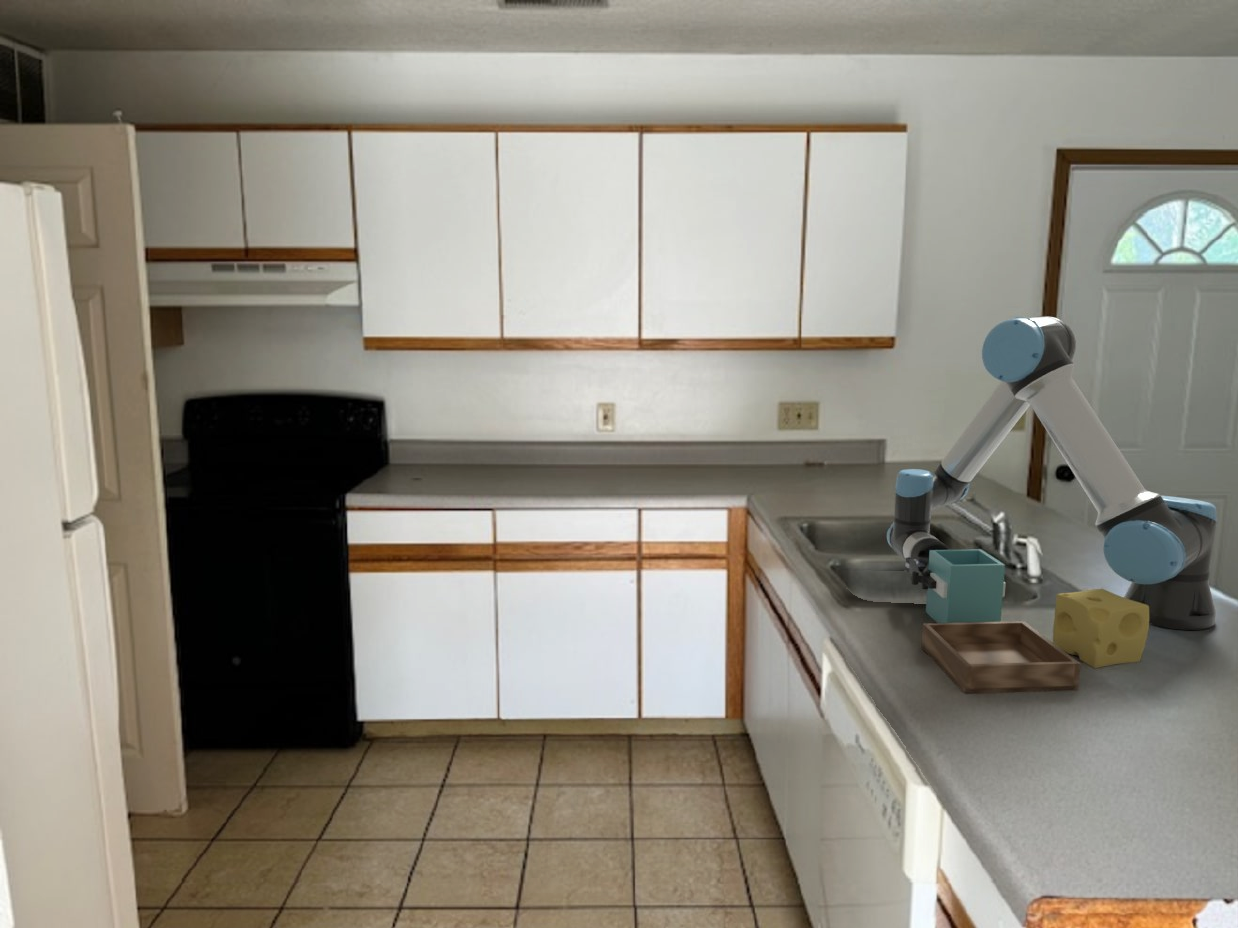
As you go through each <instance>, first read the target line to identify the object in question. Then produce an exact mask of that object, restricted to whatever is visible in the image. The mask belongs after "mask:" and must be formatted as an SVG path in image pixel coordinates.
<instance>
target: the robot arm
mask: <svg viewBox="0 0 1238 928" xmlns="http://www.w3.org/2000/svg"><path fill="white" fill-rule="evenodd" d="M1076 341H1077V340H1076V338H1075V334H1074V332H1073V330H1072V329H1071V327H1070V326H1069V325H1068V324H1067V323H1066V322H1065V321H1063V320H1061V319H1059V318H1057V317H1055V316H1054V317H1053V316H1049V315H1048V316H1047V315H1043V316H1041V315H1040V316H1033V317H1031V316H1030V317H1026V316H1017V317H1013V318H1010V319H1006V320H1003V321H1001V322H999V323H998V324H996V325H995V326H993V328H991V330H990V331H989V332H988V333H987V335H986V337H985V339H984V341H983V346H982V349H981V359H982V363H983V366H984V368H985V369H986V371H987V373H989V375H991V377H993V378H994V379H997V380H998V381H1000V382H999V383H998V385H997V386H996V387H995V388H994V390H993V391H992V393H991V394H990V396H988V398H987V400H986V401H985V402H984V403H983V405H982V406H981V408H979V411H977V413H976V414H975V416H974V417H973V418H972V419H971V421H970V422H969V424H968V425H967V426H966V428H965V429H964V430H963V432H962V433H961V435H960V436H959V437H958V438H957V440H956V441H955V442H954V444H953V445H952V446H951V448H950V449H949V451H948V452H947V453H946V455H945V456H944V457H943V458H942V460H941V461H940V463H939V464H938V465H937V466H936V468H935V469H934V471H933V472H931V471H929V470H925V469H917V468H909V469H908V468H907V469H906V468H905V469H902V470H899V472H898V473H897V475H896V483H895V486H894V512H893V513H894V515H893V517H894V518H893V523H892V524H890V526H889V528H888V530H887V532H886V540H887V543H888V545H889V546H890V547H891V549H892V550H893V551H894V553H896V555H898V556H899V557H901V558H903V559H905V568H904V569H905V570H904V571H906V572H907V573H908V575H909V578H910V583H911V585H913V586H917V585H919V583H920V584H921V590H927V589H928V587H929V588H930V589H933V590H934V591H935V592H936V593H938V594H939V595H940V596H941V597H942V598H947V592H948V584H947V583H946V582H945V581H944V580H942V579H941V578H940V577H939V576H937V575H936V574H935V573H931V571H930V570H929V569H928V568H929V552H930V550H951V549H950V548H949V547H948V546H947V545H946V544H945V543H943V542H942V541H940V540H939V539H938V538H936V537H935V536H934V535H932V534H931V533H930V531H931V529H930V528H931V527H930V526H931V519H932V518H931V517H932V510H934V509H939V508H940V507H943V506H948V505H953V504H956V503H958V502H959V501H961V500H962V499H964V498H965V497H966V496H967V495H968V492H969V489H970V483H971V482H972V480H973V479H974V478H975V476H976V475H977V474H978V473H979V471H980V470H981V469H982V467H983V466H984V465H985V464H986V462H987V461H988V460H989V459H990V457H991V456H992V455H993V453H994V452H995V451H996V450H997V448H998V447H999V445H1000V444H1001V443H1002V442H1003V441H1004V440H1005V438H1006V437H1007V436H1008V435H1009V433H1010V431H1011V430H1012V429H1013V428H1014V427H1015V425H1016V424H1017V423H1018V421H1019V420H1020V419H1021V418H1022V416H1023V415H1024V414H1025V412H1026V411H1027V410H1028V408H1029V407H1031V408H1032V410H1033V411H1034V413H1035V415H1036V417H1037V418H1038V419H1039V421H1040V422H1041V425H1042V427H1044V429H1045V430H1046V432H1047V434H1048V436H1049V437H1050V439H1051V440H1052V441H1053V443H1054V444H1055V445H1054V446H1056V448H1057V449H1058V452H1060V454H1061V456H1062V458H1063V459H1064V461H1065V462H1066V464H1067V465H1068V467H1069V468H1070V470H1071V472H1072V474H1073V475H1074V477H1075V478H1076V480H1077V481H1078V483H1079V484H1080V486H1081V487H1082V489H1083V491H1084V493H1085V494H1086V496H1087V498H1089V501H1090V502H1091V503H1092V505H1093V506H1094V508H1095V510H1096V511H1097V517H1096V521H1095V526H1096V529H1098V531H1099V532H1100V534H1101V536H1102V537H1103V539H1104V541H1103V549H1102V550H1103V555H1104V559H1105V561H1106V563H1107V564H1108V566H1109V567H1110V569H1111V570H1112V572H1114V573H1115V574H1116V575H1117V576H1119V577H1121V578H1122V579H1124V580H1126V581H1128V582H1131V583H1130V585H1129V587H1128V588H1127V591H1126V593H1125V594H1124V598H1126V599H1129V600H1132V601H1136V602H1139V603H1143V604H1146V605H1148V606H1149V625H1153V626H1157V627H1161V628H1167V629H1175V630H1184V631H1187V630H1188V631H1194V630H1195V631H1198V630H1207V629H1209V628H1211V627H1214V626H1215V622H1216V617H1217V612H1216V611H1217V610H1216V606H1215V603H1214V598H1213V595H1212V590H1211V587H1210V582H1209V580H1210V572H1211V566H1212V557H1213V549H1214V544H1215V543H1214V542H1215V534H1216V526H1217V524H1218V521H1219V520H1218V517H1217V516H1218V509H1217V507H1216V506H1215V505H1214V504H1213V503H1212V502H1207V501H1203V500H1197V499H1194V498H1185V497H1179V496H1177V497H1176V496H1170V495H1169V496H1168V495H1161V494H1160V493H1157V492H1153V491H1149V490H1147V489H1145V487H1144V486H1143V484H1142V483H1141V481H1140V479H1139V478H1138V476H1137V475H1136V473H1135V472H1134V471H1133V468H1132V467H1131V465H1130V464H1129V463H1128V461H1127V460H1126V458H1125V456H1124V455H1123V453H1122V452H1121V450H1120V448H1119V447H1118V446H1117V445H1116V443H1115V441H1114V440H1113V438H1112V437H1111V435H1110V434H1109V432H1108V431H1107V429H1106V428H1105V426H1104V424H1103V422H1101V420H1100V418H1099V417H1098V415H1097V413H1096V412H1095V411H1094V409H1093V407H1092V406H1091V405H1090V403H1089V401H1088V400H1087V398H1086V397H1085V396H1084V393H1083V392H1082V391H1081V390H1080V387H1078V385H1077V382H1076V381H1075V380H1074V379H1073V374H1074V370H1075V367H1076V366H1075V363H1074V362H1073V359H1074V355H1075V353H1076V349H1077V347H1076V345H1077V344H1076ZM1006 584H1007V583H1006V582H1005V581H1004V585H1003V598H1005V597H1006V596H1005V595H1006V594H1005V593H1006Z"/></svg>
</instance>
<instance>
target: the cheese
mask: <svg viewBox="0 0 1238 928" xmlns="http://www.w3.org/2000/svg"><path fill="white" fill-rule="evenodd" d="M1053 619H1054V620H1053V627H1052V628H1053V629H1052V643H1054V644H1055V645H1056V646H1058V647H1059V648H1060V649H1062V650H1063V651H1064V652H1066V653H1067V654H1068V655H1073V656H1078V657H1079V660H1080V661H1082V662H1083V663H1085V664H1087V665H1088V666H1089V667H1091V668H1095V669H1096V668H1097V669H1098V668H1102V667H1106V666H1112V665H1113V666H1114V665H1120V664H1129V663H1130V664H1131V663H1137V662H1141V659H1142V656H1143V653H1144V649H1145V646H1146V643H1147V638H1148V634H1149V629H1150V624H1149V606H1148V605H1146V604H1143V603H1139V602H1136V601H1132V600H1129V599H1126V598H1124V597H1123V596H1121V595H1119V594H1115V593H1114V592H1112V591H1108V590H1107V589H1105V588H1095V589H1088V590H1082V591H1081V590H1080V591H1074V592H1063V593H1062V592H1061V593H1057V594H1056V598H1055V609H1054V618H1053Z"/></svg>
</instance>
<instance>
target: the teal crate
mask: <svg viewBox="0 0 1238 928" xmlns="http://www.w3.org/2000/svg"><path fill="white" fill-rule="evenodd" d="M928 569H929V570H930V571H931V573H935V574H936V575H937V576H939V577H940V578H941V579H942V580H944V581H945V582H946V583H947V584H948V592H947V598H942V597H941V596H940V595H939V594H938V593H936V592H935V591H934V590H933V589H930V588H929V587H928V589H926V601H925V602H926V604H925V613H926V614H927V615H929V617H931V618H932V619H933V620H934V621H935V623H968V622H1002V621H1001V620H1002V619H1001V618H1002V607H1003V599H1004V597H1003V585H1004V582H1005V571H1006V564H1005V563H1003V562H1001V561H1000V560H999V559H997V558H995V557H994V556H992V555H990V553H988V552H986V551H985V550H983V549H981V548H977V549H975V548H974V549H971V548H970V549H966V548H965V549H950V550H930V552H929V568H928Z"/></svg>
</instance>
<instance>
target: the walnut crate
mask: <svg viewBox="0 0 1238 928" xmlns="http://www.w3.org/2000/svg"><path fill="white" fill-rule="evenodd" d="M921 649H922V650H923V651H924V653H926V654H927V655H928V656H929V657H930V659H932V661H933V662H934V663H936V665H937V666H938V667H939V668H940V669H941V671H943V673H945V674H946V675H947V677H949V678H950V679H951V681H952V682H953V683H954V684H955V685H956V686H957V687H958V688H959V689H960V690H961V691H962V692H963V693H964V694H993V693H997V694H999V693H1026V692H1027V693H1028V692H1029V693H1030V692H1064V691H1065V692H1066V691H1067V692H1068V691H1073V692H1074V691H1078V690H1079V684H1080V683H1079V681H1080V673H1081V662H1079V661H1078V660H1076V659H1075V658H1074V657H1072V656H1071V654H1069V653H1066V652H1064V651H1063V650H1062V649H1060V648H1059V647H1058V646H1056V645H1055V644H1054V643H1053V641H1051V640H1050V639H1048V638H1047V637H1046V636H1044V635H1043V634H1042V633H1041V632H1039V631H1038V630H1036V629H1035V628H1034V627H1032V626H1031V625H1030V624H1029V623H1027V622H1026V621H1025V620H1019V621H1018V620H1017V621H1013V620H1012V621H1001V622H968V623H937V622H934V623H931V622H930V623H922V633H921Z"/></svg>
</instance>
